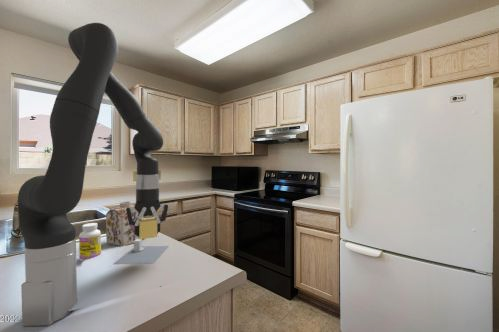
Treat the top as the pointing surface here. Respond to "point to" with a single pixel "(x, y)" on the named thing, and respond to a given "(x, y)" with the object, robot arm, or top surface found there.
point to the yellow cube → (147, 228)
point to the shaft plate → (142, 254)
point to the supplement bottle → (89, 241)
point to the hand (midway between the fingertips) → (147, 234)
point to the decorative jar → (120, 225)
